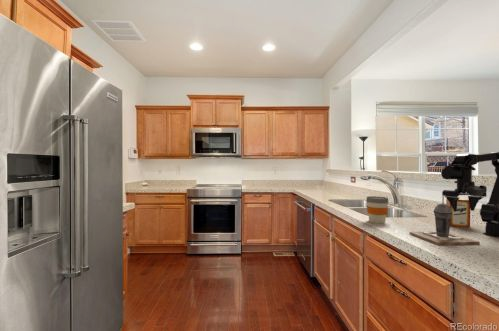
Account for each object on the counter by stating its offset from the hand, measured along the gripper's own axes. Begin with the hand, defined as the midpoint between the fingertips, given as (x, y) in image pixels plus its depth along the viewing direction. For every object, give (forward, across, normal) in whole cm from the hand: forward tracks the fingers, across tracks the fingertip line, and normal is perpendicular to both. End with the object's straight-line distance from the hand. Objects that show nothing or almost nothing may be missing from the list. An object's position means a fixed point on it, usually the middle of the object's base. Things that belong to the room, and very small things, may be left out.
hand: (463, 210), depth 128 cm
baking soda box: (+13, +18, +22) cm, 31 cm away
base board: (+13, -14, -3) cm, 19 cm away
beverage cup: (+12, -14, -3) cm, 18 cm away
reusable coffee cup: (+13, -24, +35) cm, 44 cm away
